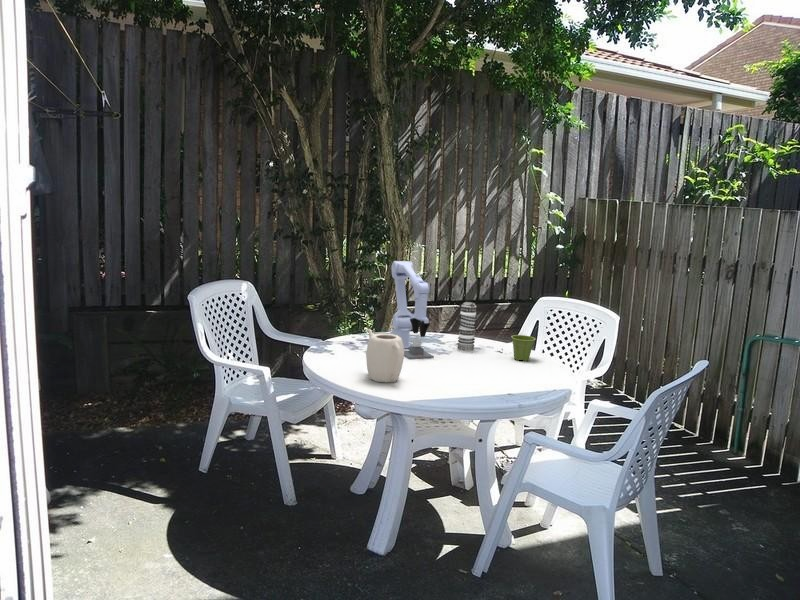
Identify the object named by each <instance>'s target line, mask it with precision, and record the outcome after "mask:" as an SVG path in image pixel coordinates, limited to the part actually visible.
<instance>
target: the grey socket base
mask: <svg viewBox="0 0 800 600" xmlns="http://www.w3.org/2000/svg"><path fill="white" fill-rule="evenodd" d="M404 358H406V359H408V360H421V359H422V360H423V359H424V360H425V359H434V358H435V356H434V355H432V354H431V353H429V352H428V351H425V348H423V347H422V346H421V347H416V348H415V349H414V348H413V345H410V346H409V348H408V350H404Z"/></svg>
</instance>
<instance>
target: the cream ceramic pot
mask: <svg viewBox="0 0 800 600" xmlns="http://www.w3.org/2000/svg"><path fill="white" fill-rule="evenodd" d="M367 332H368V337H369V340H368V343H367V346H366V352H365V357H366V358H365V360H366V369H367V373H368V374H367V375H368V378H369V379H371V380H372V381H374V382H377V383H378V382H379V383H380V382H381V383H385V384H386V383H393V382H396V381H397V380H398V379H399V377H400V374H401V373H402V368H403V365H404V364H403V363H404V358H405V356H404V351H405V349H404V345H403V342H402V338H400V337H399V336H397V335H394V334H391V333H376V334H373V331H372V329H368V330H367Z"/></svg>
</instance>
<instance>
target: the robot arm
mask: <svg viewBox="0 0 800 600" xmlns="http://www.w3.org/2000/svg"><path fill="white" fill-rule="evenodd" d="M391 276H392V278H393V279H394V284H395V285H394V286H395V295H396V306H397V308H396V309H397V311H396V312H395V313H394V314H393V315H392V327H393V329H392V330H391V331H390V332H391V333H390V334H394V335H397V336H399V337H400V338H402V342H403V345H404V350H405V349H409V346H411V345H410V335H411V334H410V332H411V331H412V334H418V333H419V336H420V337H419V338H424V337H426V334H427V331H428V328H429V327H430V325H431V323H430V321H429V318H428V317H427V310H428V309H427V307H428V295H429V294H430V292H431V285H430V283H429V282H426V281H424V280H423V278H422V277H421V276H420V274H419V273H418V274H417V273H416V272H415V269H414V264H413V262H412V260H409V261H408V260H407V261H406V260H405V261H402V260H401V261H400V260H394V261H393V262H392V264H391ZM408 278H409V283H410V284H411V286H412V287H413V293H414V294H413V295H414V298H415V299H414V300H415V301H414V313H412V312H410V311H409V310H408V303H407V294H406V293H407V292H406V291H407V290H406V282H405V280H407V279H408Z"/></svg>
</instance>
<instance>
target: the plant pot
mask: <svg viewBox="0 0 800 600" xmlns="http://www.w3.org/2000/svg"><path fill="white" fill-rule="evenodd" d="M511 338H512V348H513V349H512V350H513V359H514V360H515V359H516V360H515V361H518V360H523V361H522V362H527V360H528V361H529V360H530V357H531V353H532V349H533V345H534V343H535V340H536V338H535V337H534V336H530V335H526V334H525V335H523V334H514V335H511Z"/></svg>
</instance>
